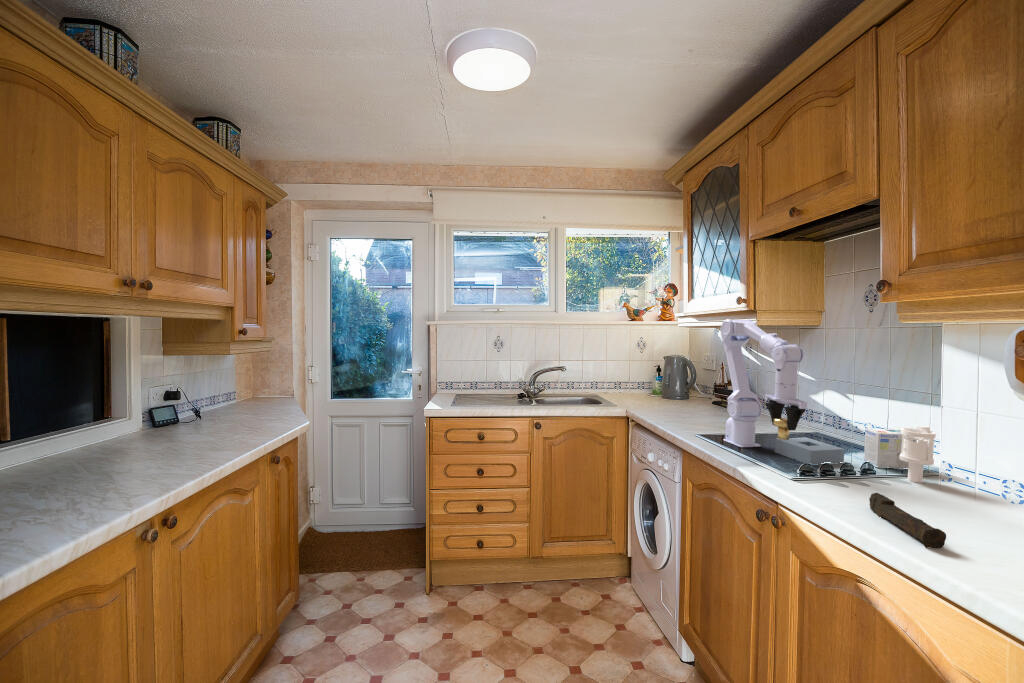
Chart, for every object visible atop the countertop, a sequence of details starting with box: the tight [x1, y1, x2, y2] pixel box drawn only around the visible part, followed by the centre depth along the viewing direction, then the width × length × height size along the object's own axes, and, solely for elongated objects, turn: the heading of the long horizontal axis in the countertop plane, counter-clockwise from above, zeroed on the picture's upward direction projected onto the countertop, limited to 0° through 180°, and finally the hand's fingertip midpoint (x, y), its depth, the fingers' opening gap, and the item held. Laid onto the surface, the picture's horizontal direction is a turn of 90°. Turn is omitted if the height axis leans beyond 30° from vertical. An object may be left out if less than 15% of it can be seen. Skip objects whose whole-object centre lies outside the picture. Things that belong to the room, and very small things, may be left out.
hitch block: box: [774, 437, 845, 465], centre depth 145 cm, size 14×12×4 cm
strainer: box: [899, 425, 937, 484], centre depth 125 cm, size 7×7×15 cm
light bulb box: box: [863, 428, 918, 468], centre depth 138 cm, size 11×7×11 cm, turn 84°
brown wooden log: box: [868, 492, 947, 549], centre depth 97 cm, size 19×4×5 cm, turn 171°
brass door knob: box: [772, 417, 790, 440], centre depth 141 cm, size 6×6×6 cm
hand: (783, 427), depth 141 cm, fingers closed on brass door knob, 6 cm apart
